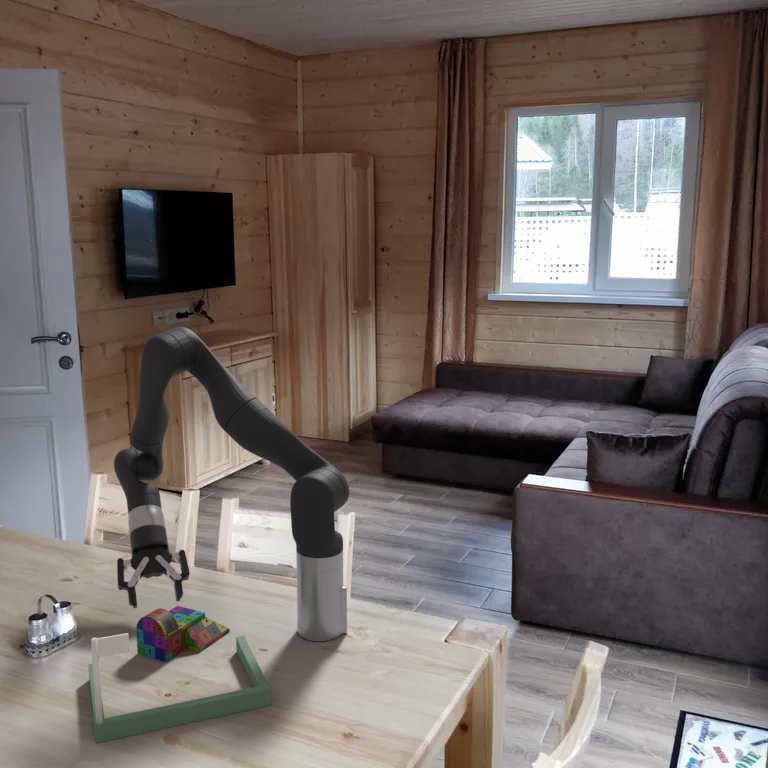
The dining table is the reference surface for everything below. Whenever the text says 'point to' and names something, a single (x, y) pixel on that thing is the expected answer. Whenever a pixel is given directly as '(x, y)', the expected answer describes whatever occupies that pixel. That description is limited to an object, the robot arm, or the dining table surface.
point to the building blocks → (176, 632)
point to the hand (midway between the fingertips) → (157, 603)
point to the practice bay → (174, 712)
